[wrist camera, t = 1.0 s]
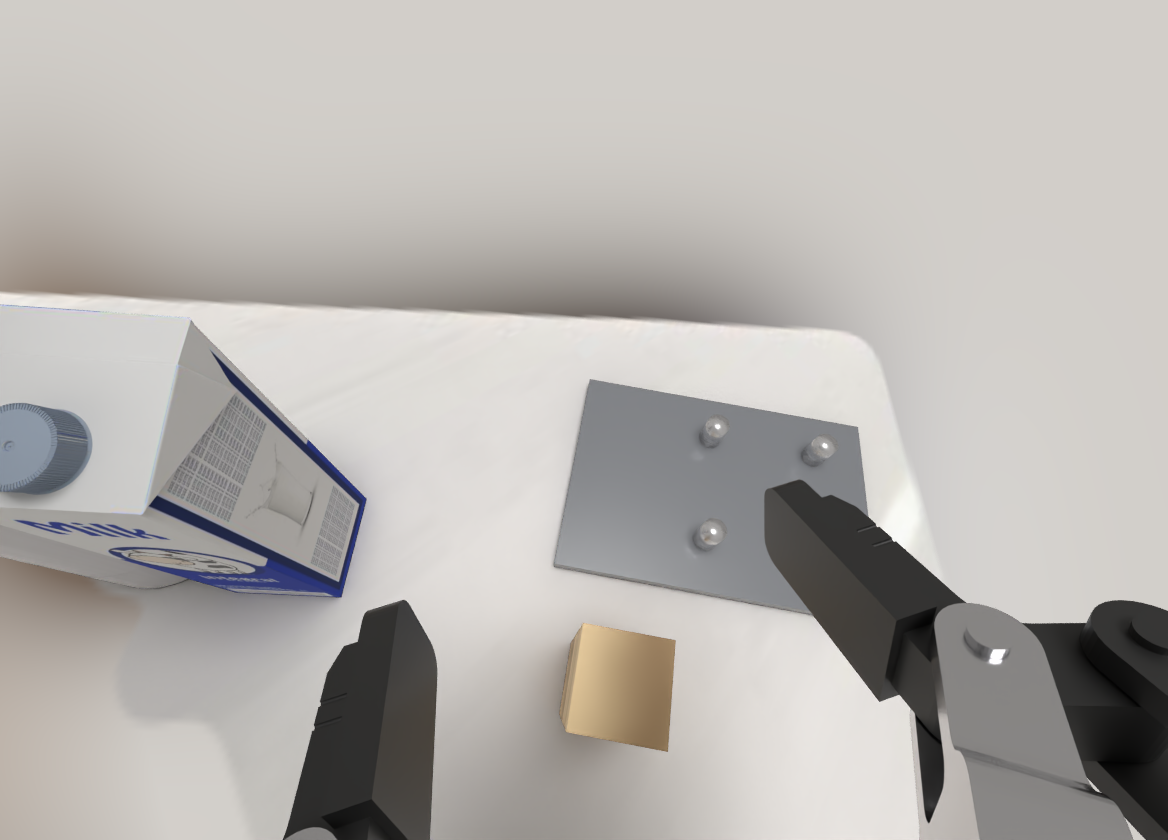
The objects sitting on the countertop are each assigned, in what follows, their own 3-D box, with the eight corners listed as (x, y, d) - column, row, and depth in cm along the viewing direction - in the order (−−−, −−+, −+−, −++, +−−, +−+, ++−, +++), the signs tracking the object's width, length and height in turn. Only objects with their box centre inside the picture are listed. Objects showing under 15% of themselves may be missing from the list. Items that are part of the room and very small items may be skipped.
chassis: (554, 566, 34) (554, 555, 30) (589, 385, 41) (592, 361, 38) (872, 625, 33) (905, 620, 30) (850, 432, 40) (876, 412, 37)
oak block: (559, 714, 30) (566, 732, 19) (570, 642, 31) (583, 622, 21) (624, 726, 29) (667, 751, 19) (632, 654, 31) (675, 640, 21)
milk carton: (369, 498, 35) (190, 313, 17) (344, 597, 32) (93, 493, 14) (268, 493, 35) (-19, 299, 17) (232, 592, 31) (-167, 480, 14)
